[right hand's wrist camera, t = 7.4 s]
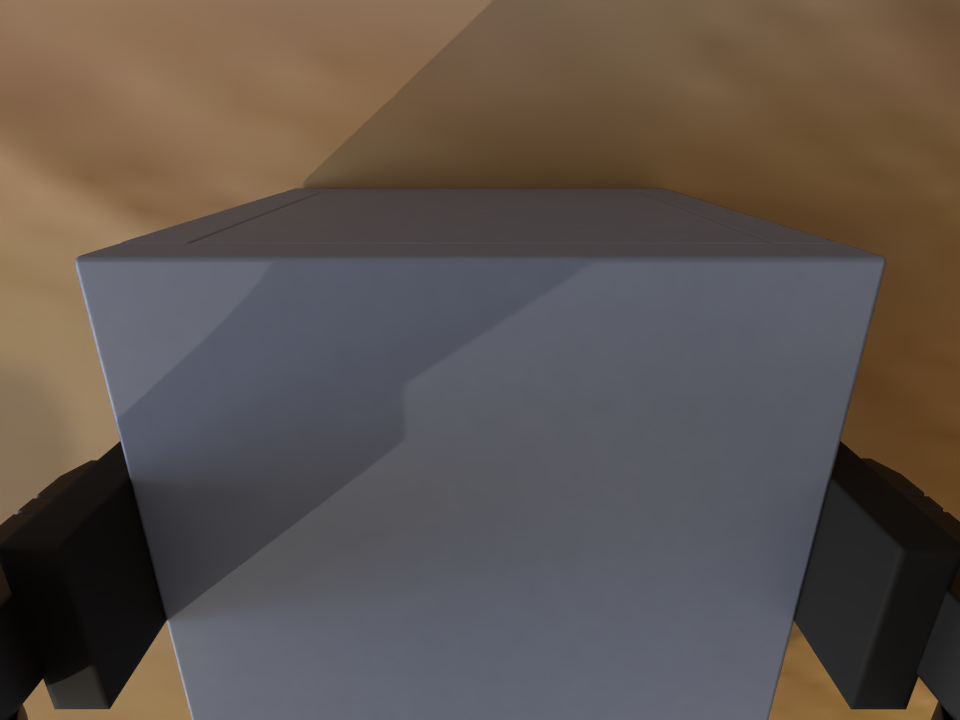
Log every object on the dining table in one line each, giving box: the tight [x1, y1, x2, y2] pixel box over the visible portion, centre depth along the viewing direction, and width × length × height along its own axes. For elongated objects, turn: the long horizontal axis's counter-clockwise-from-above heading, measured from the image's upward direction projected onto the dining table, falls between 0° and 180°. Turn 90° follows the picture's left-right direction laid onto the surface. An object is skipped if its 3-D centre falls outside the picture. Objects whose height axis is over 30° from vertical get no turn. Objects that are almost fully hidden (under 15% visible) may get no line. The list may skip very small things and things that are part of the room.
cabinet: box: [75, 188, 886, 720], centre depth 15 cm, size 18×10×9 cm, turn 0°
